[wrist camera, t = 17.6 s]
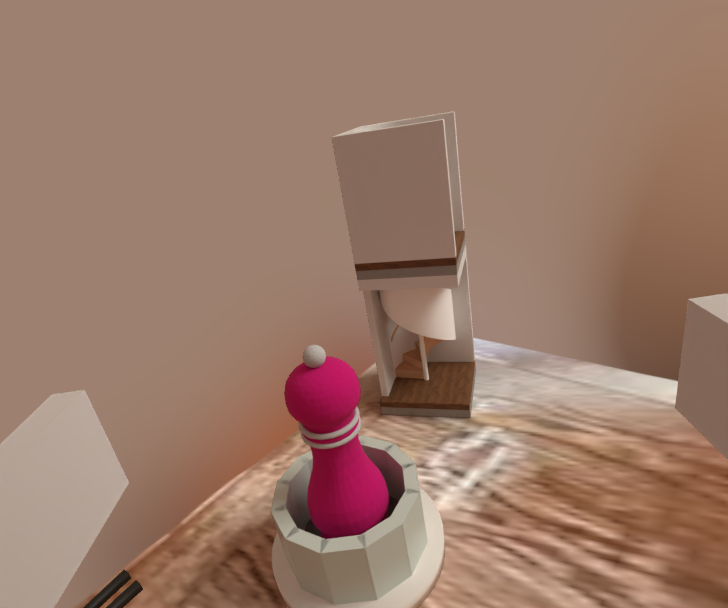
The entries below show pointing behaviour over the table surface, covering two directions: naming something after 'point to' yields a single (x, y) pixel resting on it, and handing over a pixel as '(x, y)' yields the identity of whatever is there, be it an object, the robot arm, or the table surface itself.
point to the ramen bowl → (112, 588)
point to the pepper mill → (335, 447)
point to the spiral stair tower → (411, 260)
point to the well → (358, 542)
